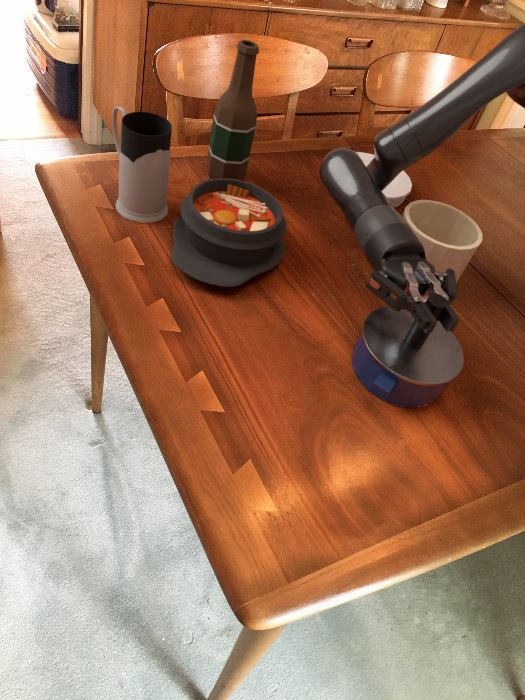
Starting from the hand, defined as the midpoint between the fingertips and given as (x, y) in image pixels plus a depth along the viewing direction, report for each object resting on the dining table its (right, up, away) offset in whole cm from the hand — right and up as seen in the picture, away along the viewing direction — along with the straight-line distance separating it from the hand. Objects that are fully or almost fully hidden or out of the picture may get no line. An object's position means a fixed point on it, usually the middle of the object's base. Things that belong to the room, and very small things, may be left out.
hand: (442, 327), depth 71 cm
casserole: (-29, +14, +22) cm, 39 cm away
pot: (+5, +12, +29) cm, 32 cm away
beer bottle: (-30, +31, +37) cm, 57 cm away
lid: (-2, +32, +46) cm, 56 cm away
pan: (-3, -6, +10) cm, 12 cm away
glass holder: (-45, +23, +25) cm, 57 cm away
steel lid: (-2, -2, +6) cm, 7 cm away
